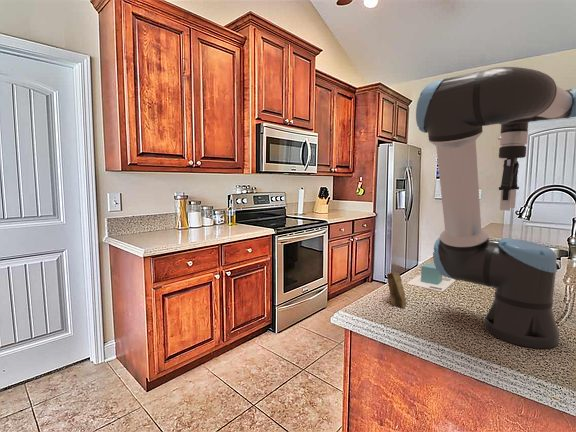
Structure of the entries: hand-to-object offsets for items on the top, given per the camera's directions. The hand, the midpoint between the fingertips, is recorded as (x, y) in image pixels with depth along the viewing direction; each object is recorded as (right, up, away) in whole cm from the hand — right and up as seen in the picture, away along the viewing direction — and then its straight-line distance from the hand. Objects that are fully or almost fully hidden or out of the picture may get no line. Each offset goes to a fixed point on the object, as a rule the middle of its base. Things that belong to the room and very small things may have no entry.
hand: (507, 209), depth 111 cm
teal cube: (-21, -27, +13) cm, 36 cm away
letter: (-21, -27, +12) cm, 36 cm away
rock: (-40, -30, -7) cm, 50 cm away
